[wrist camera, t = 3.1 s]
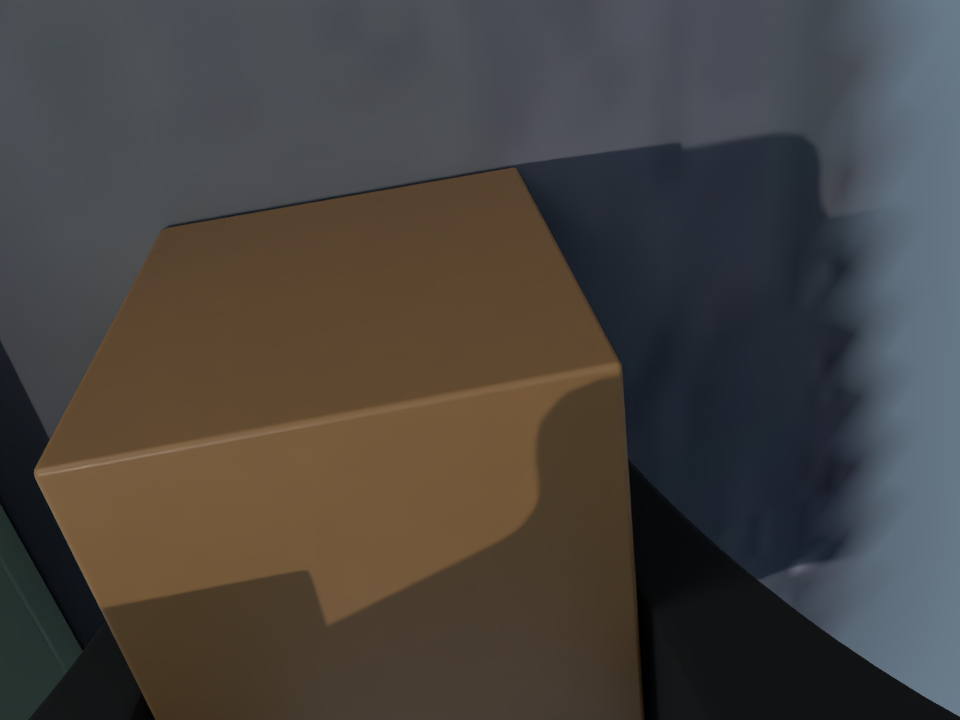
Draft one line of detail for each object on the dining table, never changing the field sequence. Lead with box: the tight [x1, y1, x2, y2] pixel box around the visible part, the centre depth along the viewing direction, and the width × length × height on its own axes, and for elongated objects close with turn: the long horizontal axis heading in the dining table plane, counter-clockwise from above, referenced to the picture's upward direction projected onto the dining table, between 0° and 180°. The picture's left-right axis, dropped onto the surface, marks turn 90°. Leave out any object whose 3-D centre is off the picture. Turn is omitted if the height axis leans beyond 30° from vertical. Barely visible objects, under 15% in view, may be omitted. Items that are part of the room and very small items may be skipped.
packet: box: [34, 168, 645, 720], centre depth 10 cm, size 4×8×4 cm, turn 8°
